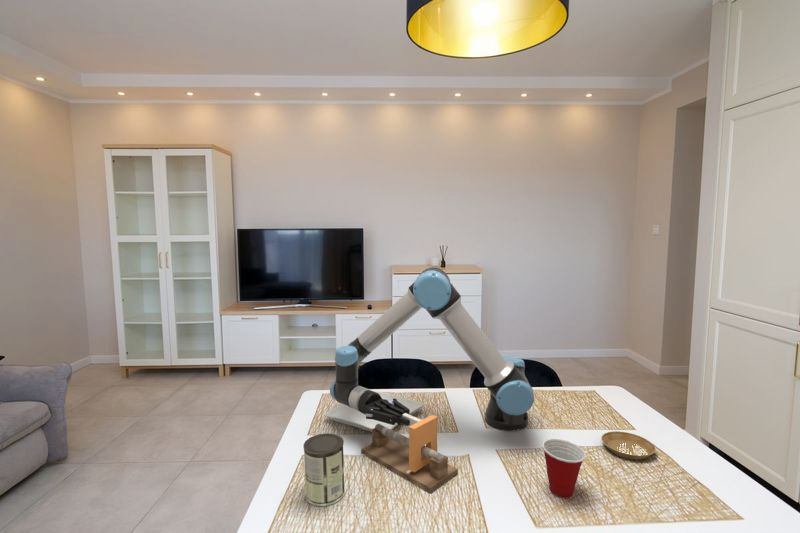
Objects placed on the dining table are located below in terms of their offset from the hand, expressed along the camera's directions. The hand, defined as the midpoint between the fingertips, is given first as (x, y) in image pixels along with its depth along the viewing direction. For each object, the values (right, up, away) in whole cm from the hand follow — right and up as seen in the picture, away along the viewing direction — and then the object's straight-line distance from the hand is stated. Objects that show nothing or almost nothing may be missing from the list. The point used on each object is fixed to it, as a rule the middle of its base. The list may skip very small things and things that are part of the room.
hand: (420, 425), depth 118 cm
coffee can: (-25, -15, -9) cm, 31 cm away
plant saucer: (+65, -13, +11) cm, 67 cm away
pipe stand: (-3, -13, +5) cm, 14 cm away
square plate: (-15, -11, +35) cm, 40 cm away
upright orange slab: (+1, -11, 0) cm, 11 cm away
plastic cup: (+37, -14, -8) cm, 41 cm away
